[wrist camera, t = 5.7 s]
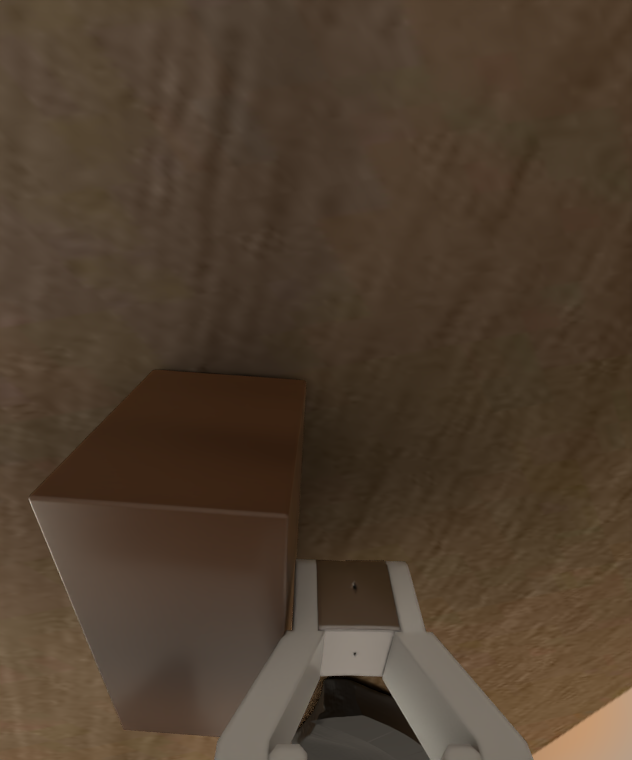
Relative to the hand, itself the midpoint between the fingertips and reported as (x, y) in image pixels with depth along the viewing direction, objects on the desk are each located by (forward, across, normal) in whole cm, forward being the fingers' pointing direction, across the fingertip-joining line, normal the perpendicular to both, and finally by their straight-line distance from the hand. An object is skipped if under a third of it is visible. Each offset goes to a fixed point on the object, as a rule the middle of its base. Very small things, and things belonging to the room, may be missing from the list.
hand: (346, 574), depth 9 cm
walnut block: (+3, +3, 0) cm, 4 cm away
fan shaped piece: (+3, -4, +19) cm, 19 cm away
